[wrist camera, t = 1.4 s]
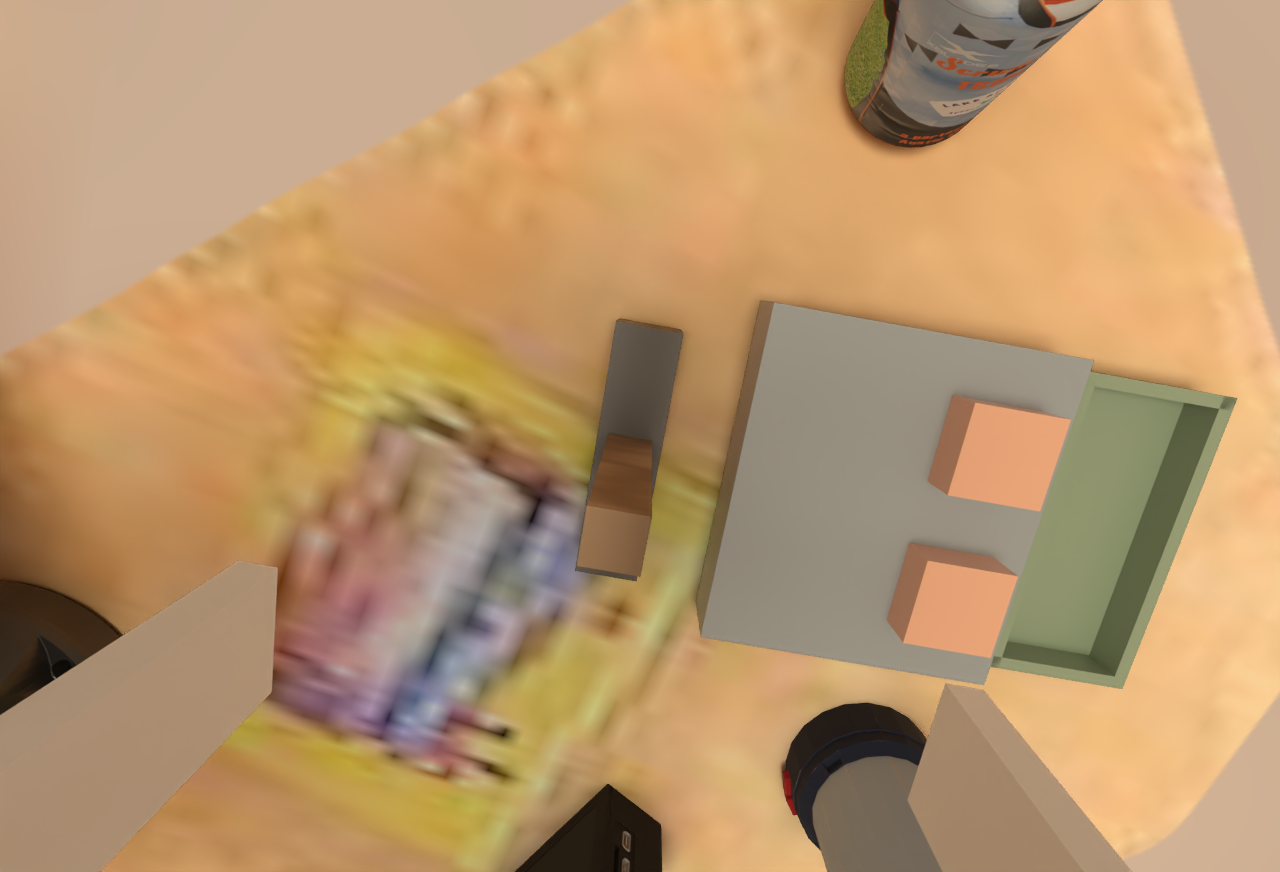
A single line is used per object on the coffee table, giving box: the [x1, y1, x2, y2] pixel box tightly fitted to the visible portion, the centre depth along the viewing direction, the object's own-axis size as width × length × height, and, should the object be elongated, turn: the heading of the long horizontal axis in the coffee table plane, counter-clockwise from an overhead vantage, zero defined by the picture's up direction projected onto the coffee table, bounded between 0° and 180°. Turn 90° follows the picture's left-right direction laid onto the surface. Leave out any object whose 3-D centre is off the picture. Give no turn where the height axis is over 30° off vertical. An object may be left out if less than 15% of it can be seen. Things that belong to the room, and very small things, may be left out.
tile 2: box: [928, 395, 1071, 511], centre depth 27 cm, size 4×4×2 cm
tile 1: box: [887, 543, 1018, 658], centre depth 29 cm, size 4×4×2 cm
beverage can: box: [845, 0, 1103, 147], centre depth 22 cm, size 6×7×12 cm
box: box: [990, 372, 1237, 689], centre depth 31 cm, size 7×15×2 cm, turn 170°
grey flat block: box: [696, 301, 1094, 685], centre depth 31 cm, size 14×16×4 cm
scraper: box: [575, 319, 683, 581], centre depth 26 cm, size 3×12×13 cm, turn 170°
